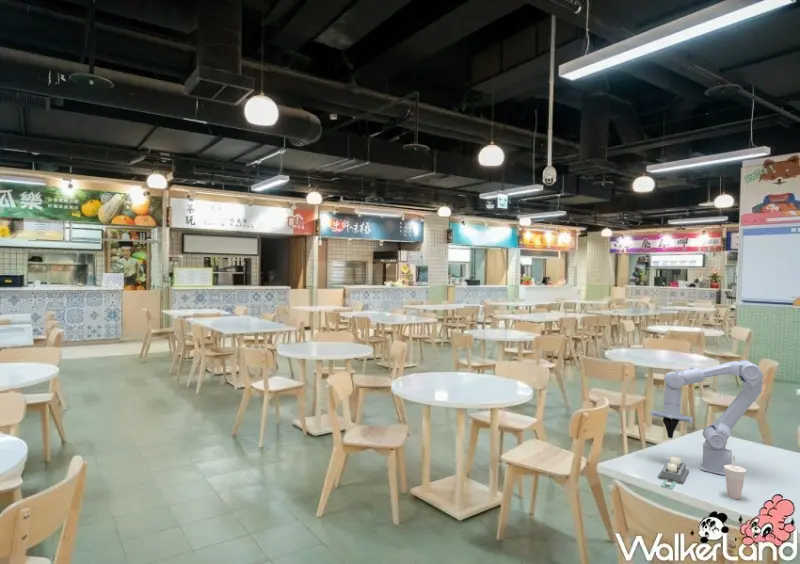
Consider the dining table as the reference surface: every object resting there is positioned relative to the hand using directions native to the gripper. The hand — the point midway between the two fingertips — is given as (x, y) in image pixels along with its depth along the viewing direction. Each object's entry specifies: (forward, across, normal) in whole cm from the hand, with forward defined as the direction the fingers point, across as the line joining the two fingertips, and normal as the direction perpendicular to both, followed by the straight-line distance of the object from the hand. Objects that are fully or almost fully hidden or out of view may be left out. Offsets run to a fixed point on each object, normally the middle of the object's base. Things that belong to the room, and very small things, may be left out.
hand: (670, 437), depth 196 cm
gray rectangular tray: (+10, +4, -12) cm, 16 cm away
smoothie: (+10, +22, -19) cm, 31 cm away
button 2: (+9, +3, -7) cm, 12 cm away
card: (+10, +4, -22) cm, 25 cm away
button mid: (+8, +3, -12) cm, 15 cm away
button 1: (+9, +3, -16) cm, 19 cm away
